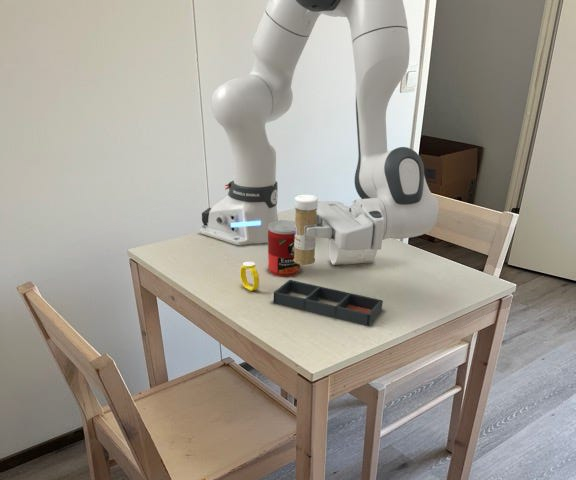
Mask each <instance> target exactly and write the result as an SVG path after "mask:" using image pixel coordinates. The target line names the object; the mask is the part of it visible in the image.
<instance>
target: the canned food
mask: <svg viewBox="0 0 576 480" xmlns="http://www.w3.org/2000/svg"><path fill="white" fill-rule="evenodd" d="M294 241H295V221H294V220H286V219H285V220H284V219H283V220H282V219H281V220H278V221H274V222H271V223H270V224H269V225H268V242H267V264H268V265H267V267H268V271H269V272H270V274H272V275H275V276H278V277H292V276H295V275H297V274H299V272H300V269H301V265H299V264H296V263H295V262H294V249H295V246H294Z"/></svg>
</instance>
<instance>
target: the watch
mask: <svg viewBox="0 0 576 480" xmlns="http://www.w3.org/2000/svg"><path fill="white" fill-rule="evenodd" d="M247 270H249V271H250V273H251V276H252V282H253V285H250V282H249V281H248V278H247ZM239 277H240V281H241V284H242V286H243V288H245V289H247V290H248V291H250V292H253V291H257V289H258V288H259V287H260V276H259V272H258V270H257V268H256V263H255V262H254V261H244V262H243V263H242V265H241V266H240V270H239Z"/></svg>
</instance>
